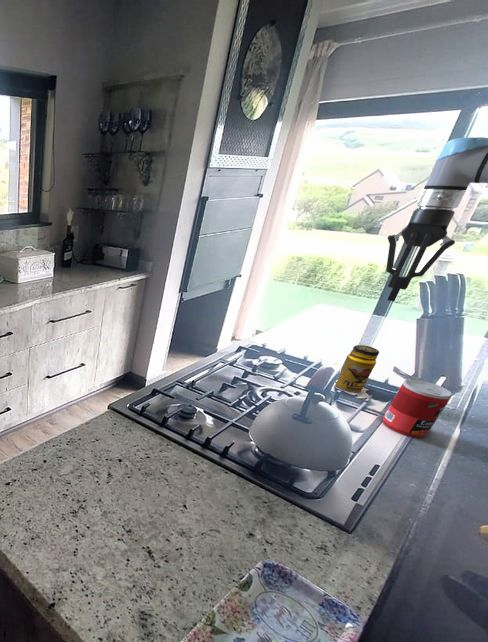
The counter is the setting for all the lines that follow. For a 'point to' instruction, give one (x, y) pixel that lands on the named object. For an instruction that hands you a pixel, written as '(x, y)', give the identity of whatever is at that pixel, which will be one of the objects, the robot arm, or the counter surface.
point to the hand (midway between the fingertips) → (391, 300)
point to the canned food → (416, 407)
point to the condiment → (357, 369)
